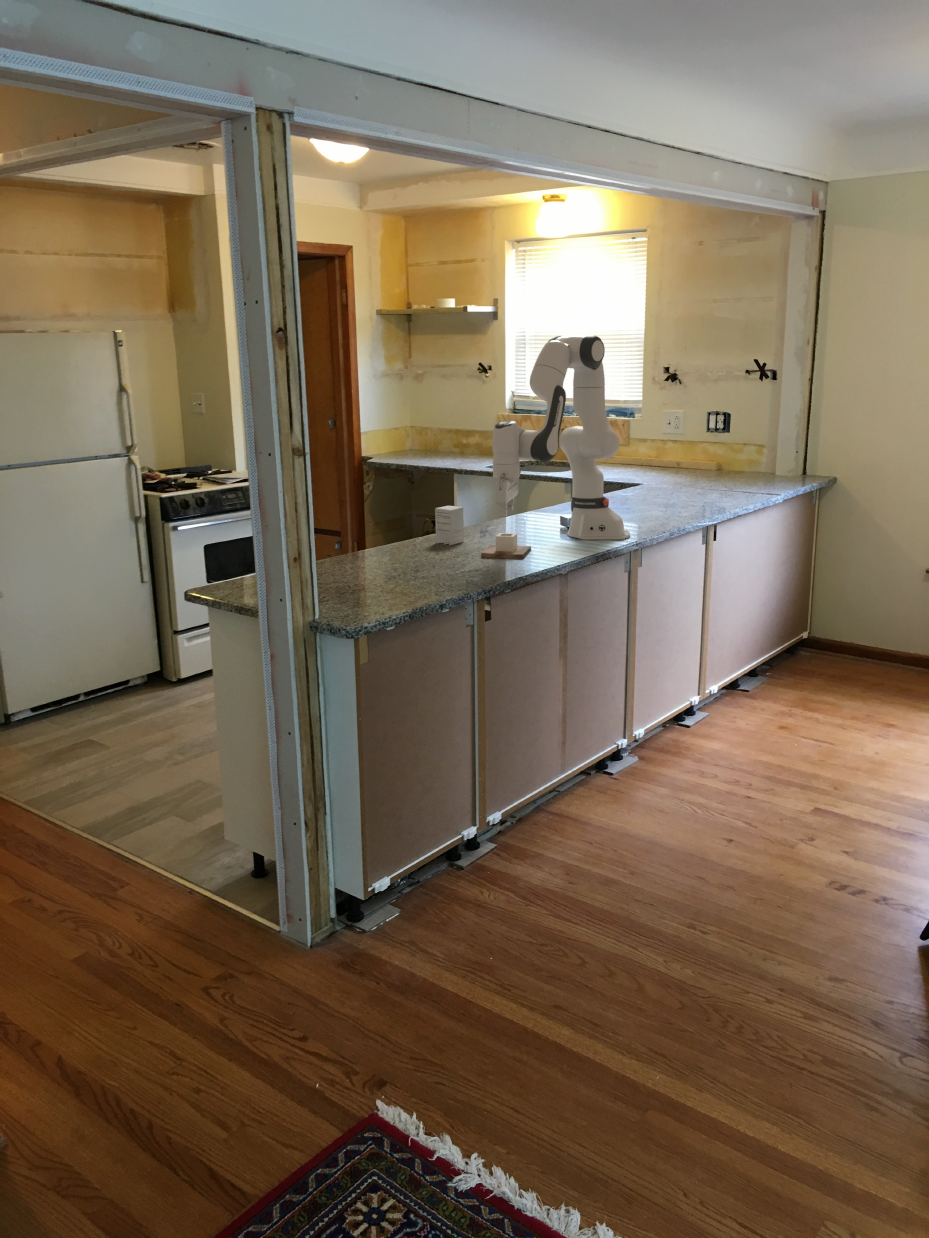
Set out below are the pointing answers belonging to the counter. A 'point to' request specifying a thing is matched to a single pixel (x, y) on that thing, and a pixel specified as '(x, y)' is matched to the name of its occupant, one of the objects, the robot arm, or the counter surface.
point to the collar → (506, 542)
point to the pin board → (506, 552)
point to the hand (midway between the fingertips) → (507, 513)
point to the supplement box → (449, 525)
